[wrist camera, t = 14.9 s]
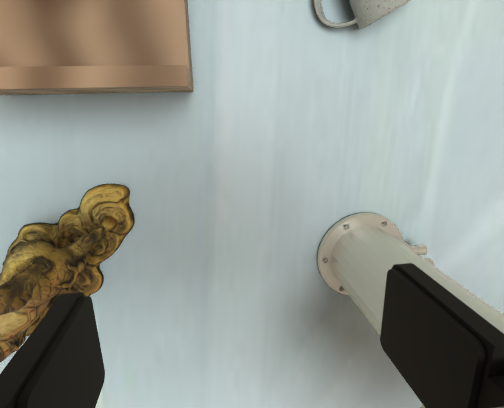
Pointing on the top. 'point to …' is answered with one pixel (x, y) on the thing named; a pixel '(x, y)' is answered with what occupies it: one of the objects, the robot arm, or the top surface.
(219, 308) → the top surface
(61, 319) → the robot arm
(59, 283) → the figurine
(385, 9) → the ceramic mug
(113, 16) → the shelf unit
